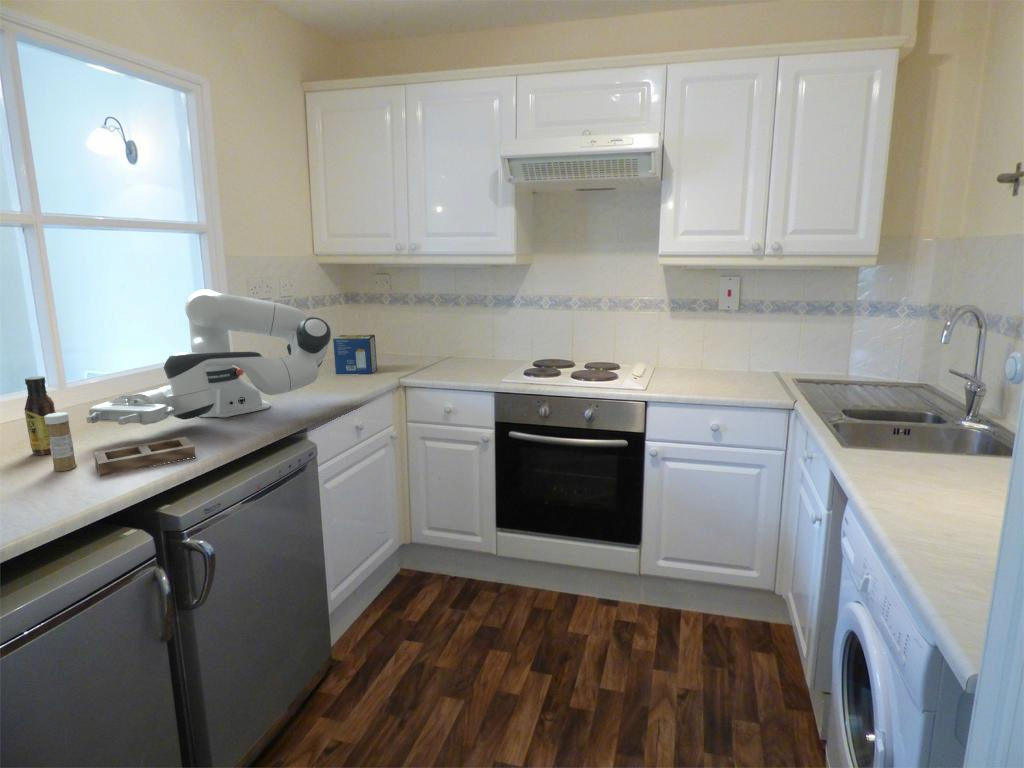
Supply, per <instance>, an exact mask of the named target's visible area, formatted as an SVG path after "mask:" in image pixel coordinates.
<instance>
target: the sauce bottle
mask: <svg viewBox="0 0 1024 768" xmlns="http://www.w3.org/2000/svg"><path fill="white" fill-rule="evenodd" d="M24 381H25V383H24V384H25V385H26V389H27V397H26V402H25V406H24V415H25V420H26V426H27V432H28V439H29V444H30V449H31V451H32V453H33V455H36V456H43V455H44V454H45V455H49V454H51V449H50V442H49V436H48V430H47V426H46V424H45V419H44V417H45V416H46V415H48V414H52V413H57V411H56V408H55V402H54V401H53V399H52V398H51V397H50V396H49V395H48V394H47V393H48V391H47V387H46V383H47V382H46V377H45V376H42V375H41V376H40V375H38V376H37V375H35V376H29V377H27V378H25V379H24Z"/></svg>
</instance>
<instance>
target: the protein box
mask: <svg viewBox="0 0 1024 768" xmlns="http://www.w3.org/2000/svg"><path fill="white" fill-rule="evenodd" d="M332 343H333V357H334V358H333V359H334V372H335V375H336V374H358V375H372V374H373V373H375V372H376V371H378V363H377V348H376V336H375V334H340V335H337V336H336V337H333V338H332Z"/></svg>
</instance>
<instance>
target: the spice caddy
mask: <svg viewBox="0 0 1024 768" xmlns="http://www.w3.org/2000/svg"><path fill="white" fill-rule="evenodd" d="M195 451H196V449H195V445H194V444H193V443H192V442H191V441H190V440H189V439H188V438H187V436H183V437H182V436H181V437H177V438H176V437H175V438H171V439H164V440H160V441H153V442H147V443H142V444H140V443H139V444H135V445H129V446H124V447H123V446H122V447H118V448H112V449H111V448H110V449H107V450H106V449H105V450H101V451H94V452H93V453H94V454H93V455H94V460H95V461H94V462H95V466H96V468H97V471H98V474H99V477H102V476H108V475H114V473H115V474H120V473H124V472H128V471H129V472H131V471H134V470H140V468H141V469H146V468H150V466H151V467H155V466H154V465H156V466H160V464H162V465H165V464H164V463H167V464H169V463H168V462H172V463H174V462H173V461H177V462H179V461H178V460H182V461H184V460H183V459H187V458H193V457H196V452H195ZM193 459H194V458H193ZM145 467H146V468H145Z"/></svg>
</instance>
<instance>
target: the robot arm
mask: <svg viewBox="0 0 1024 768" xmlns="http://www.w3.org/2000/svg"><path fill="white" fill-rule="evenodd" d="M184 308H185V309H184V311H185V315H186V316H187V318H188V324H189V325H188V326H189V337H190V347H191V350H190V352H189V351H183V352H176V353H174V354H172V355H169V357H168V358H167V359H166V361H165V363H164V365H163V371H164V372H165V376H166V378H167V379H168V382H169V384H167V385H164V386H160V387H158V388H157V389H150V390H146V391H142V392H138V393H134V394H127V395H125V394H124V395H119V396H115V397H114V399H113V400H112V399H111V400H108V401H104V402H102V403H99V404H96V405H93V406H91V407H90V408H89V409H88V415H87V416H86V423H87V424H96V423H98V422H100V423H101V422H102V423H117V424H118V425H121V426H122V425H124V426H125V425H128V424H140V425H143V426H145V425H146V426H147V425H150V424H155V423H159V422H162V421H164V420H166V419H168V418H170V417H174V418H176V419H180V420H191V419H195V418H198V417H199V418H200V417H201V418H214V417H215V418H229V417H232V416H238V415H243V414H247V413H252V412H258V411H262V410H267V409H269V408H270V407H271V406H270V403H269V402H268V401H267V400H264V399H263V398H262V396H261V393H263V394H265V395H269V396H277V395H282V394H286V393H287V394H288V393H290V392H294V391H297V390H299V389H302V388H304V387H307V386H309V385H311V384H313V383H314V382H316V380H317V379H318V377H319V368H320V366H321V365H322V363H323V361H324V358H325V357H326V354H327V353H328V347H329V343H330V341H331V336H332V331H331V327H330V325H329V324H328V323H327V322H326V321H325V320H324V319H323V318H319V317H316V316H310V317H307V314H306V312H304V311H303V310H301V309H300V308H297V307H294V306H291V305H288V304H283V303H279V302H274V301H269V300H264V299H259V298H258V299H257V298H254V297H247V296H240V295H234V294H233V295H232V294H227V293H219V292H217V291H215V290H212V289H207V288H204V289H203V288H201V289H199V290H196V291H194V292H193V293H191V295H190V296H189V297H188V299H187V300H186V302H185V307H184ZM229 331H233V332H243V333H250V334H255V335H256V334H257V335H262V336H269V337H273V338H281V339H284V340H286V341H287V342H288V344H287V346H286V349H287V352H288V355H287V356H282V357H277V358H276V357H275V358H268V357H264V356H263V355H262V354H261V353H260V352H258V351H257V352H256V351H231V344H230V334H229ZM234 366H235V367H234ZM237 367H238V368H237ZM244 374H245V375H246V376H247V378H248V379H249V381H250V382H251V383H250V382H248V381H246V380H244V379H243V378H241V377H240V376H243V375H244ZM260 392H261V393H260Z"/></svg>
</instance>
